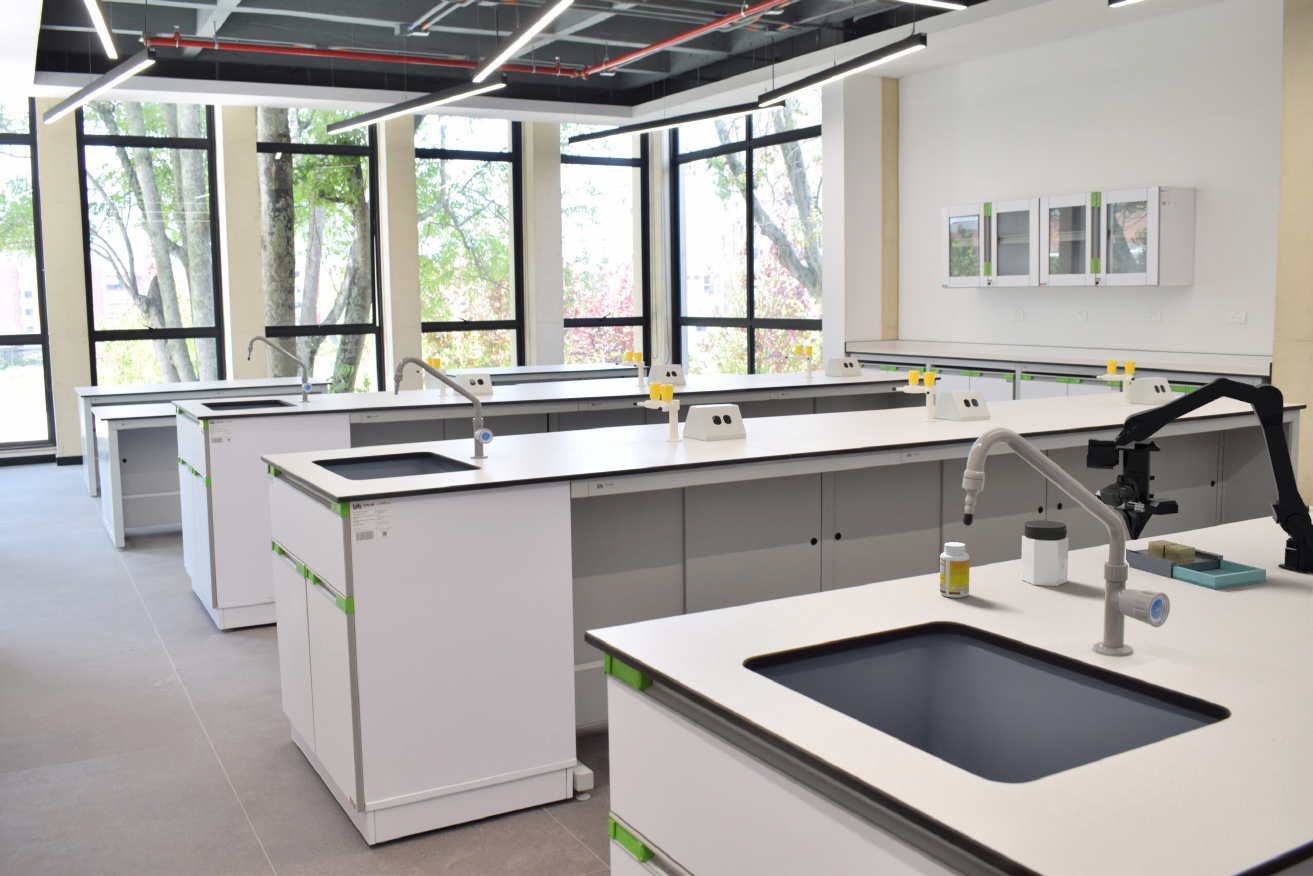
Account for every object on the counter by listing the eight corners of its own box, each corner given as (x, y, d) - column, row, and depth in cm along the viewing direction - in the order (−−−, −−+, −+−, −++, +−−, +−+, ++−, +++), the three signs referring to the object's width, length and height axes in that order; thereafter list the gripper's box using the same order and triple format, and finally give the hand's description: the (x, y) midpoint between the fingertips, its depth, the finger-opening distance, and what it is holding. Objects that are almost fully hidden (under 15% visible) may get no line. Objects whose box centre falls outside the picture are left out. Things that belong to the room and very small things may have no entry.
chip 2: (1178, 555, 225) (1179, 544, 224) (1194, 559, 221) (1195, 547, 221) (1164, 557, 223) (1165, 545, 223) (1180, 561, 219) (1180, 549, 219)
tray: (1222, 571, 220) (1223, 559, 220) (1265, 581, 211) (1266, 569, 211) (1172, 578, 215) (1173, 566, 215) (1214, 589, 206) (1214, 577, 206)
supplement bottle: (974, 595, 206) (975, 544, 204) (958, 600, 202) (958, 548, 201) (950, 589, 210) (951, 539, 209) (933, 594, 206) (934, 544, 205)
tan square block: (1162, 551, 229) (1162, 540, 228) (1177, 555, 225) (1177, 543, 225) (1148, 553, 227) (1148, 541, 227) (1162, 556, 224) (1163, 545, 223)
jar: (1053, 589, 209) (1054, 530, 208) (1015, 582, 215) (1016, 524, 214) (1073, 580, 215) (1074, 523, 214) (1035, 574, 221) (1036, 518, 220)
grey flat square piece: (1168, 557, 234) (1169, 542, 233) (1222, 570, 221) (1223, 555, 220) (1118, 563, 228) (1118, 549, 228) (1170, 578, 215) (1171, 562, 215)
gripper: (1076, 467, 237) (1075, 535, 239) (1141, 478, 220) (1139, 551, 222) (1114, 464, 241) (1112, 530, 243) (1181, 475, 224) (1178, 546, 226)
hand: (1134, 539), depth 233 cm, fingers closed
